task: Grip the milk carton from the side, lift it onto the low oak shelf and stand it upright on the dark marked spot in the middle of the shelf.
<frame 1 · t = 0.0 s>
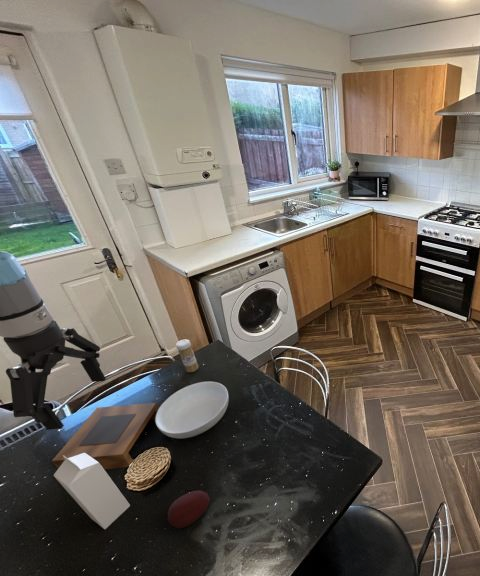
hand: (79, 402, 72), 31 cm above the table, tool pointing down, fingers open, 13 cm apart
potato: (192, 515, 79), on the table
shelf: (116, 441, 97), on the table
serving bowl: (199, 419, 104), on the table
sprinkles bottle: (192, 369, 125), on the table
milk: (111, 512, 80), on the table
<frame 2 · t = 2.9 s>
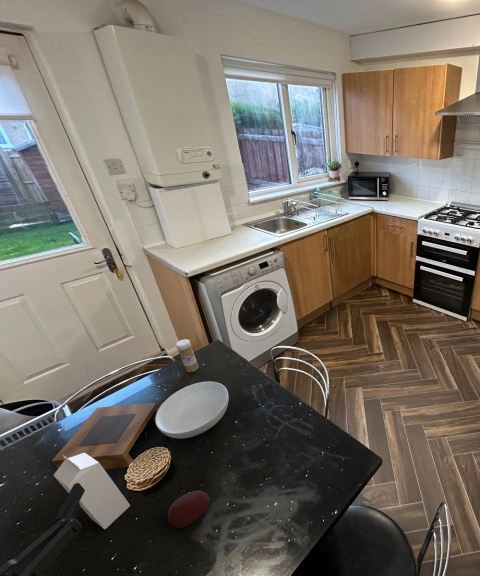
hand: (37, 497, 60), 24 cm above the table, tool horizontal, fingers open, 13 cm apart
nothing on the table moved.
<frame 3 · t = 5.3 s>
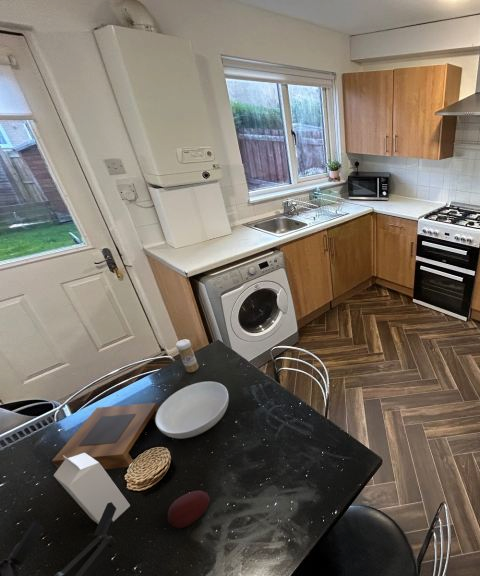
hand: (75, 514, 68), 12 cm above the table, tool horizontal, fingers open, 13 cm apart
nothing on the table moved.
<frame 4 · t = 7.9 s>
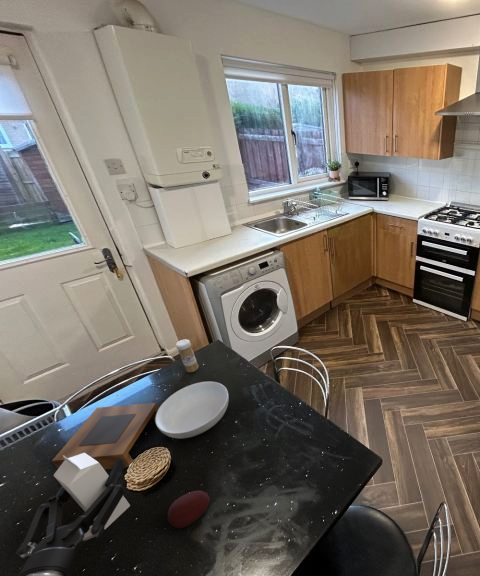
hand: (99, 467, 78), 12 cm above the table, tool horizontal, fingers closed on milk, 8 cm apart
milk: (111, 512, 80), on the table, touching gripper
everything else where it was.
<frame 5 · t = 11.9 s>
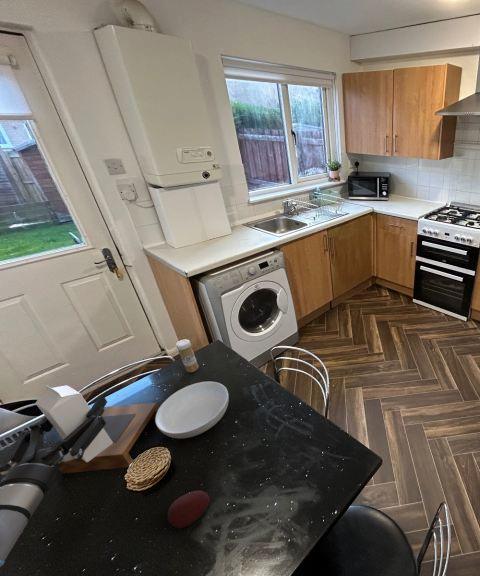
hand: (82, 402, 79), 25 cm above the table, tool horizontal, fingers closed on milk, 8 cm apart
milk: (94, 448, 81), point 13 cm above the table, touching gripper
everything else where it was.
when the fingers open (18 cm above the table, at t = 15.9 s): milk stays where it is, resting on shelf.
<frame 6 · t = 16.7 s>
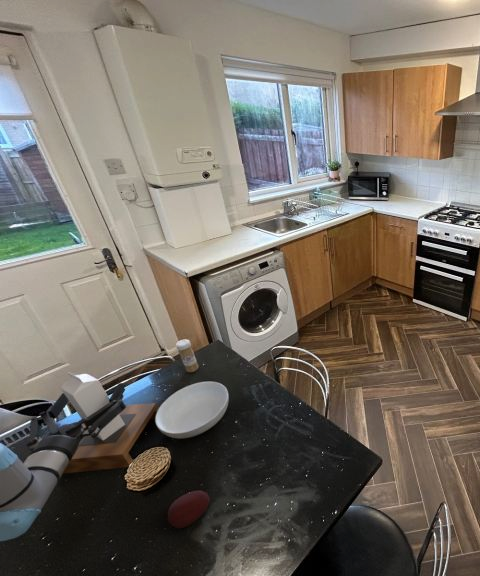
hand: (94, 391, 90), 19 cm above the table, tool horizontal, fingers open, 13 cm apart
milk: (108, 429, 94), point 6 cm above the table, touching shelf
everything else where it was.
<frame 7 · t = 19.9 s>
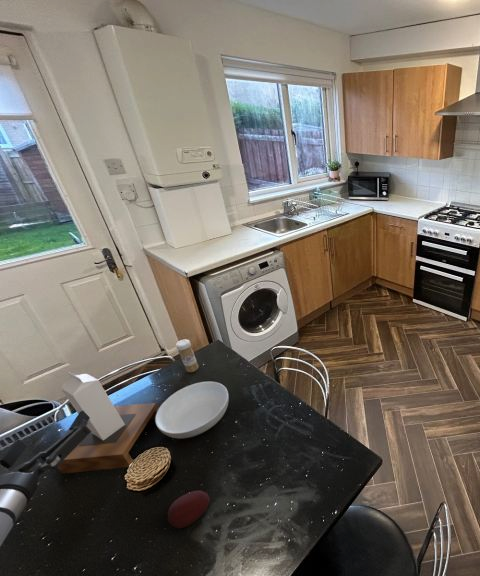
hand: (54, 428, 78), 19 cm above the table, tool horizontal, fingers open, 13 cm apart
nothing on the table moved.
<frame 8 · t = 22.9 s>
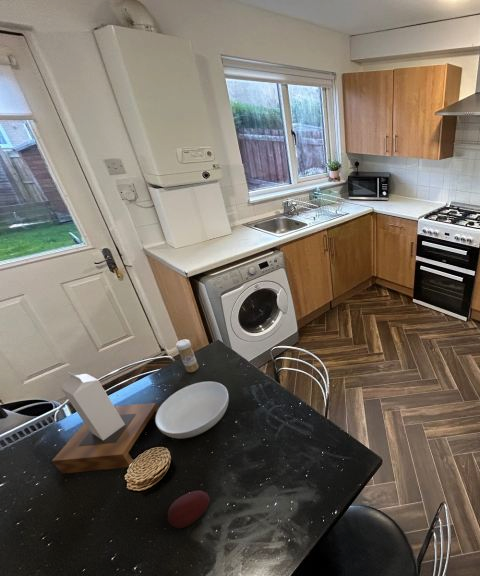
nothing on the table moved.
at the end: milk inside the target area on the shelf (0.1 cm from its centre), point 5.9 cm above the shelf's base; milk tilted 0°; the gripper is holding nothing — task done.
